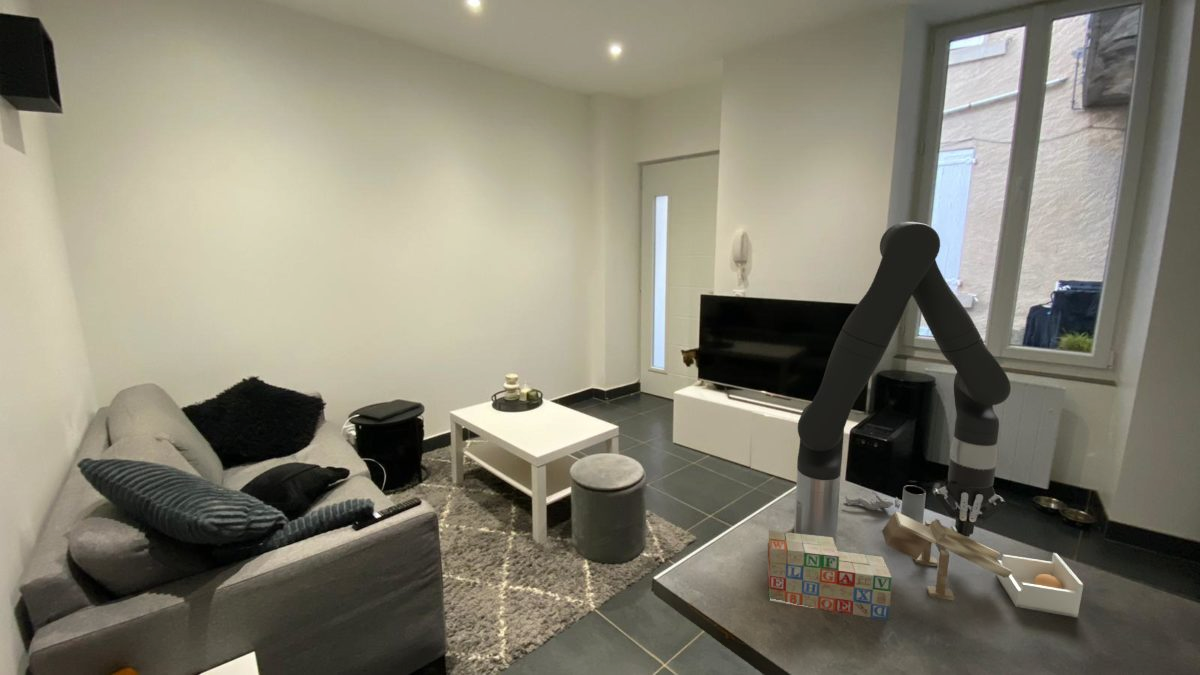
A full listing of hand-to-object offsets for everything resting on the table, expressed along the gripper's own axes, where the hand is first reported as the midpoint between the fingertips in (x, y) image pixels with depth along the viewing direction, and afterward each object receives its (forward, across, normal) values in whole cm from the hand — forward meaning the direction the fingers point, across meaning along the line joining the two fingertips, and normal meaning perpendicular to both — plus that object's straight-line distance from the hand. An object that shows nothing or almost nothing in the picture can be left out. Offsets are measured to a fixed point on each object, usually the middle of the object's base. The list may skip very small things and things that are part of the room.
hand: (963, 534), depth 103 cm
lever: (+3, -7, -4) cm, 9 cm away
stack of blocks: (+7, -28, -20) cm, 35 cm away
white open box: (+7, +10, -7) cm, 14 cm away
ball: (+4, +12, -7) cm, 15 cm away
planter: (+7, -7, +11) cm, 15 cm away
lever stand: (+7, -7, -7) cm, 12 cm away
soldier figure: (+7, -14, +18) cm, 24 cm away
